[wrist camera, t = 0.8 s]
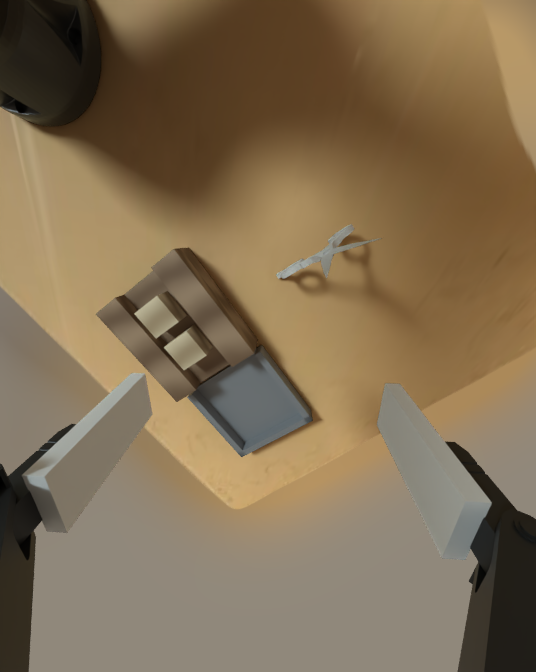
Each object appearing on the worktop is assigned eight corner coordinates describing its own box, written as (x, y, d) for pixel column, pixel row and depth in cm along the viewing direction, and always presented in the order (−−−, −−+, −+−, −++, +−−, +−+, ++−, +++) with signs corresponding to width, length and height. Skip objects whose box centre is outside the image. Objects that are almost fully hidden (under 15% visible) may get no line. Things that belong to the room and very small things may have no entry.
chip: (173, 339, 37) (163, 347, 34) (194, 324, 36) (186, 331, 33) (191, 360, 38) (183, 370, 35) (212, 346, 37) (206, 355, 34)
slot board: (118, 304, 39) (95, 314, 34) (188, 247, 35) (173, 249, 31) (188, 384, 43) (176, 402, 38) (257, 339, 39) (254, 353, 35)
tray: (192, 388, 43) (187, 397, 41) (261, 344, 40) (260, 351, 37) (243, 446, 47) (241, 457, 44) (311, 410, 43) (312, 420, 41)
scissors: (343, 225, 34) (435, 196, 15) (346, 231, 34) (441, 208, 15) (276, 274, 36) (279, 303, 17) (279, 279, 36) (286, 312, 17)
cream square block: (146, 307, 36) (134, 313, 33) (167, 291, 35) (156, 295, 32) (165, 330, 37) (155, 338, 34) (187, 315, 36) (178, 321, 33)
